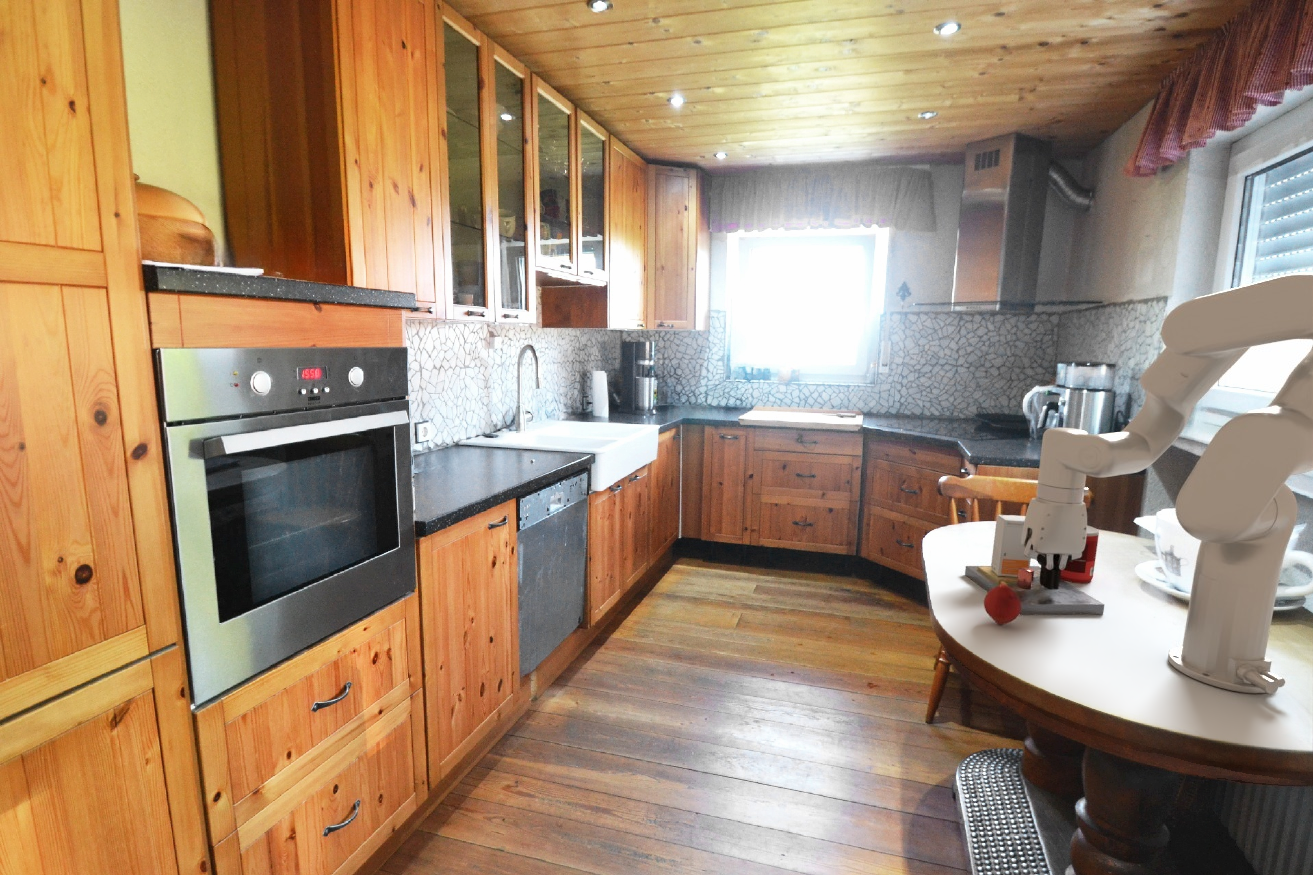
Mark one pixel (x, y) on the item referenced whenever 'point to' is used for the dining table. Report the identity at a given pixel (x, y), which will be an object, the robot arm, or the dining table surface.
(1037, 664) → the dining table surface
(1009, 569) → the skincare box
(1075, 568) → the canned food
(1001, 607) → the onion
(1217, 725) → the dining table surface
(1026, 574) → the lever
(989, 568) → the press bed
